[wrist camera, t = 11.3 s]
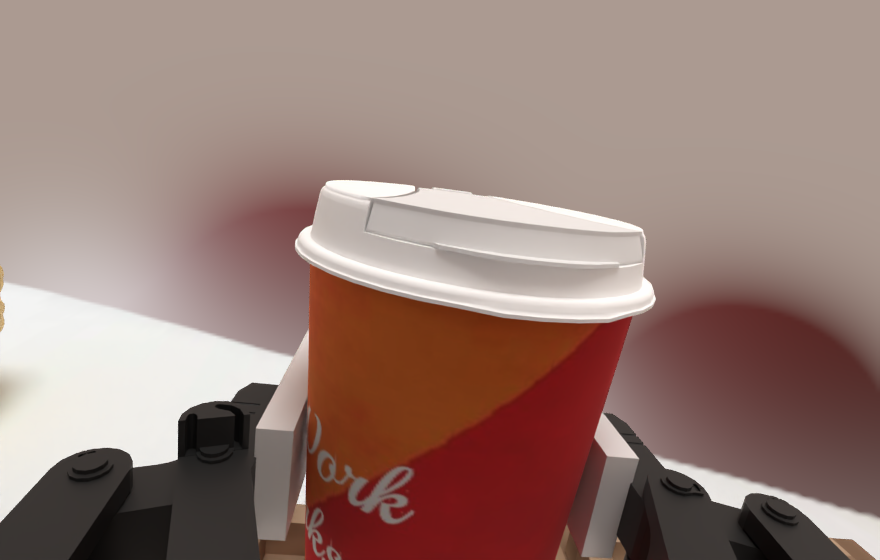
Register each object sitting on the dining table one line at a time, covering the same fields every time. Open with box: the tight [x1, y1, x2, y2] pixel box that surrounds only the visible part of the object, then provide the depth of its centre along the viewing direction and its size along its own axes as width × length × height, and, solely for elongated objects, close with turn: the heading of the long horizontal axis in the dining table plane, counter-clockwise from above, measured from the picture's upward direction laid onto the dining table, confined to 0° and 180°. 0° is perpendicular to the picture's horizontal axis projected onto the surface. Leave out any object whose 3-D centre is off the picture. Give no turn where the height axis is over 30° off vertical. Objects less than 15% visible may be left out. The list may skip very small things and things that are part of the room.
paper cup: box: [295, 180, 656, 560], centre depth 12 cm, size 8×8×14 cm
